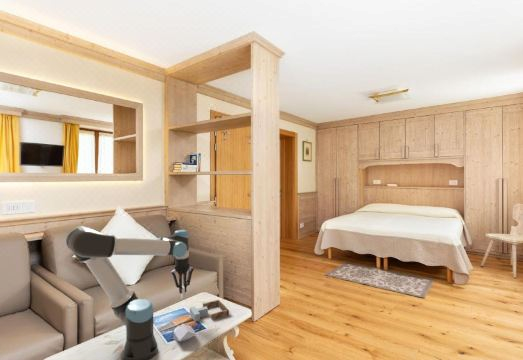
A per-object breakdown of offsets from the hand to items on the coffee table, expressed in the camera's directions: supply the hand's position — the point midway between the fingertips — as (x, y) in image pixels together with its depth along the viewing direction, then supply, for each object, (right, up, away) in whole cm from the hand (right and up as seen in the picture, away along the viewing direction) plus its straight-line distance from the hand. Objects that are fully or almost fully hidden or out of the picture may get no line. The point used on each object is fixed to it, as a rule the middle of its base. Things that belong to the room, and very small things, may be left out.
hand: (183, 298), depth 163 cm
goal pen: (+17, -12, +10) cm, 23 cm away
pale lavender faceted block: (+5, -13, -17) cm, 23 cm away
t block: (+9, -13, +5) cm, 16 cm away
